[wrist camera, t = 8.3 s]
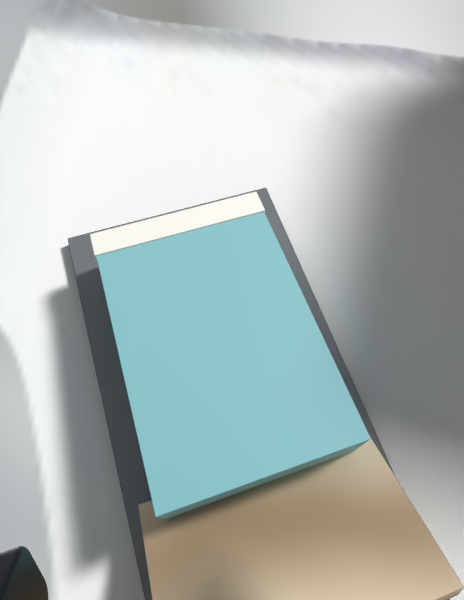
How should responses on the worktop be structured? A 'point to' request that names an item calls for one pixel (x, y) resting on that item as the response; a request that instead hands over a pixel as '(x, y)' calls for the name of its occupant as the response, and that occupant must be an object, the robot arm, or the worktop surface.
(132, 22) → the worktop surface
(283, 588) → the ramp
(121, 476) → the mat
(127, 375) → the card deck
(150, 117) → the worktop surface
